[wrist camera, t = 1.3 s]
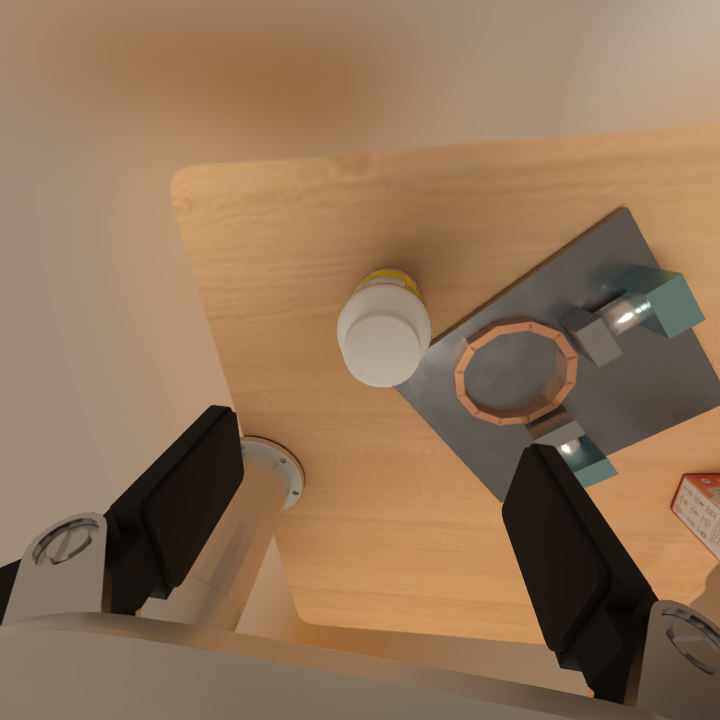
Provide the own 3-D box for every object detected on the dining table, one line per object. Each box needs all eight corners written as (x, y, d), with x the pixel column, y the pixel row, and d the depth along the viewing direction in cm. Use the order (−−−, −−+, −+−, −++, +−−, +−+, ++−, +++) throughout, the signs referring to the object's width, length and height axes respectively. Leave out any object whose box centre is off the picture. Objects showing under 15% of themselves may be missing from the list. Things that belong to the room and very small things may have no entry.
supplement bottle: (418, 336, 31) (431, 406, 19) (353, 332, 31) (327, 399, 20) (425, 267, 28) (445, 301, 16) (353, 265, 29) (324, 296, 17)
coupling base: (498, 496, 38) (512, 533, 34) (386, 373, 33) (385, 398, 28) (720, 395, 30) (777, 426, 25) (619, 208, 24) (669, 205, 20)
